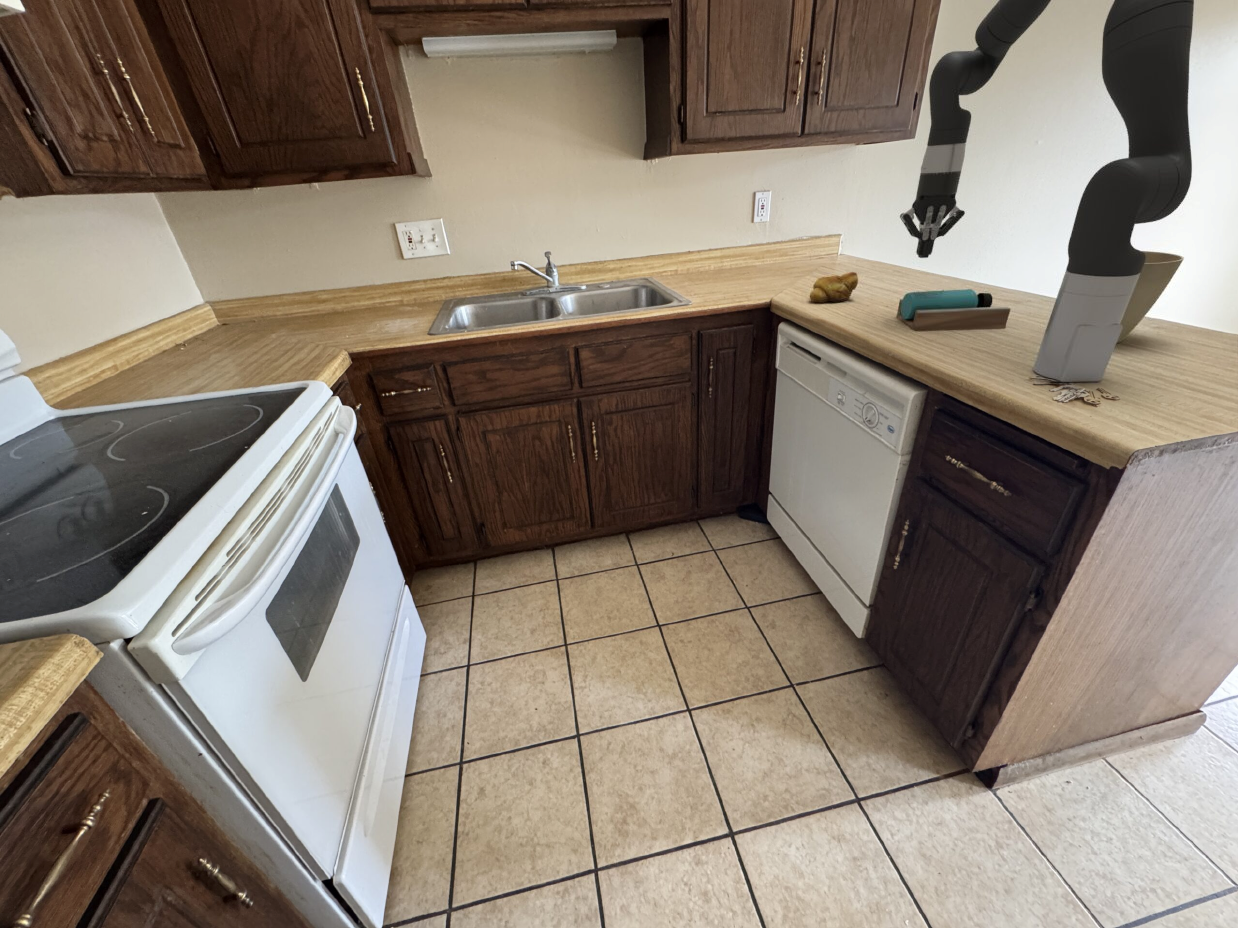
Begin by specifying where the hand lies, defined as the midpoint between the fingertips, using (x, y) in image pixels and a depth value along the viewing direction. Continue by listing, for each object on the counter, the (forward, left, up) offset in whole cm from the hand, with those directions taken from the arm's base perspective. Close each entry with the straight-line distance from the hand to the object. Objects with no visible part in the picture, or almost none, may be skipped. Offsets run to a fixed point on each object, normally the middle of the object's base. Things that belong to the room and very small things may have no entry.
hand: (923, 257), depth 118 cm
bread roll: (+28, +13, -15) cm, 34 cm away
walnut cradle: (0, -8, -15) cm, 17 cm away
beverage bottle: (0, +3, -11) cm, 11 cm away
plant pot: (-16, -31, -15) cm, 38 cm away
